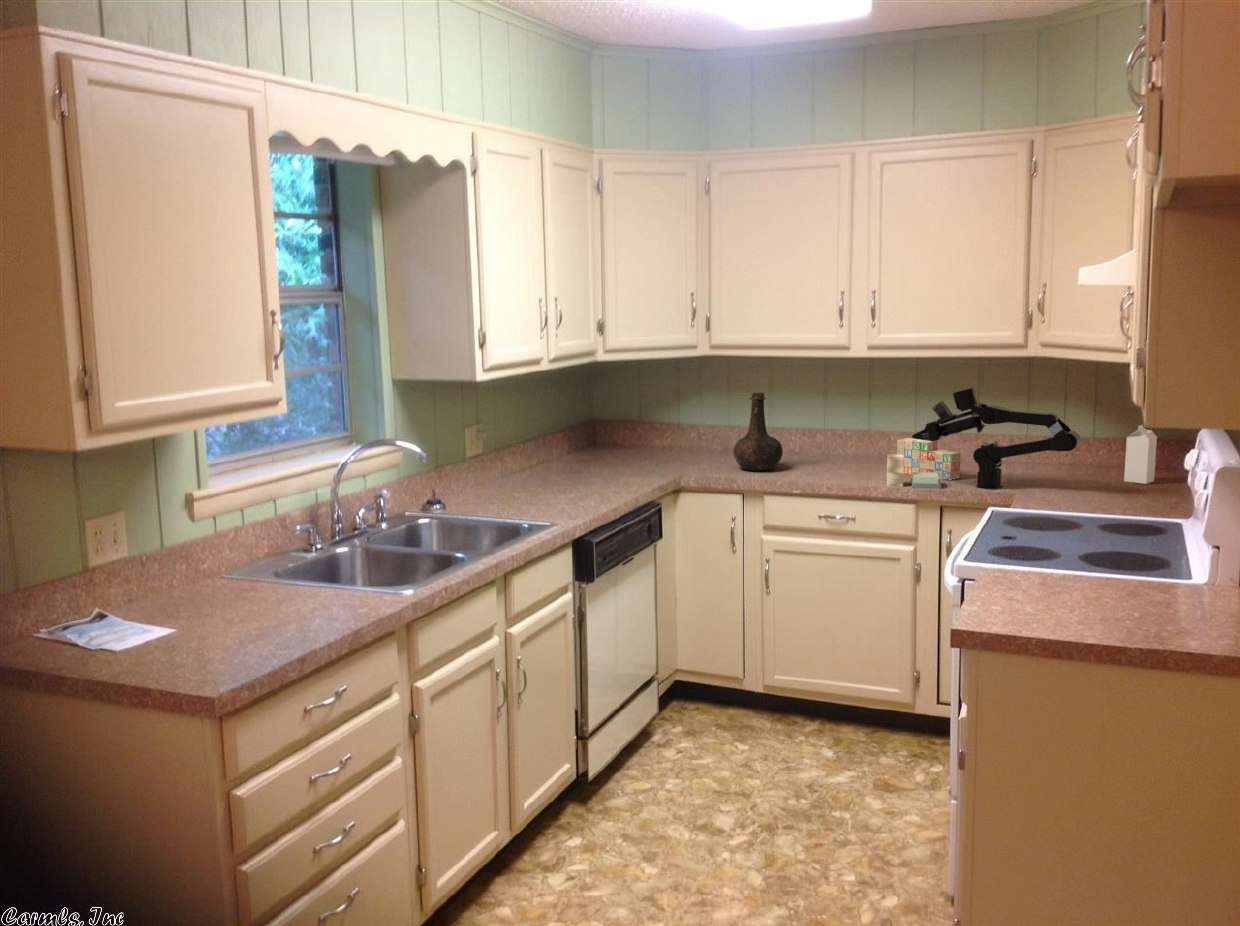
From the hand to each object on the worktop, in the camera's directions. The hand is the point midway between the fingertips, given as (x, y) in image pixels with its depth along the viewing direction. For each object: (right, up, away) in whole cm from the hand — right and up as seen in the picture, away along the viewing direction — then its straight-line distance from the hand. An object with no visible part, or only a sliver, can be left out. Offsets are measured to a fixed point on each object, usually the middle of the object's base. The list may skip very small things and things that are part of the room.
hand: (916, 435), depth 363 cm
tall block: (-8, -17, -4) cm, 19 cm away
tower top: (+1, -15, -6) cm, 17 cm away
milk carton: (+72, -16, -6) cm, 74 cm away
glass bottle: (-50, -12, +30) cm, 59 cm away
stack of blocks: (+7, -14, +12) cm, 20 cm away
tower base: (+1, -18, -6) cm, 19 cm away
